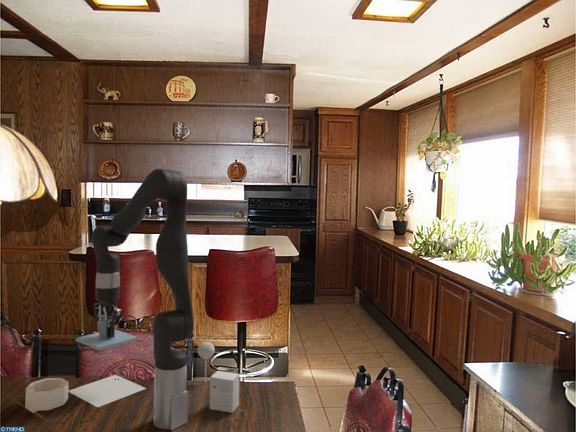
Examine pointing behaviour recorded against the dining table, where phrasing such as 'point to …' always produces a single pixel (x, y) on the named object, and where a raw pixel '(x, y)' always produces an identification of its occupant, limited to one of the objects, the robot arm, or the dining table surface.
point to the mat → (106, 390)
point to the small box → (224, 391)
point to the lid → (105, 338)
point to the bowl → (46, 394)
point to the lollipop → (206, 352)
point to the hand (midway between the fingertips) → (106, 335)
